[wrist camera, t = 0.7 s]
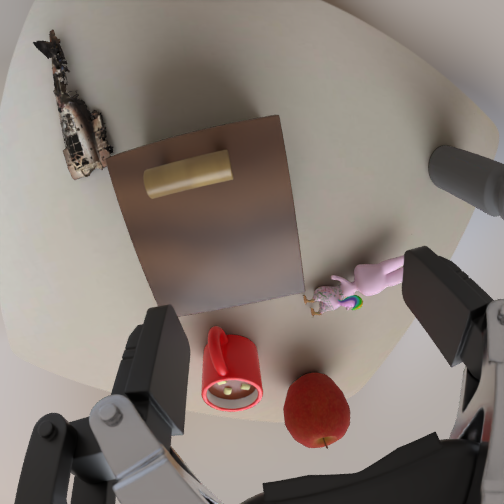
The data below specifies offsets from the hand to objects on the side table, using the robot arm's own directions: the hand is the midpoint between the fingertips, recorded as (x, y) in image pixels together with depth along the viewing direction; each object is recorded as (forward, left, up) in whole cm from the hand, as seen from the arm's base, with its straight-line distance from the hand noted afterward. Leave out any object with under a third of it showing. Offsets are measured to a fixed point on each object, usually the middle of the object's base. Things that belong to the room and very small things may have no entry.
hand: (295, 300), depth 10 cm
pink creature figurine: (+17, +11, -24) cm, 31 cm away
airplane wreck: (-12, -16, -24) cm, 31 cm away
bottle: (+4, +25, -24) cm, 35 cm away
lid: (+2, -4, -14) cm, 14 cm away
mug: (+24, -8, -24) cm, 34 cm away
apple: (+36, +3, -24) cm, 43 cm away
